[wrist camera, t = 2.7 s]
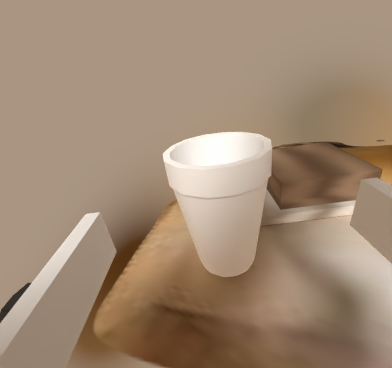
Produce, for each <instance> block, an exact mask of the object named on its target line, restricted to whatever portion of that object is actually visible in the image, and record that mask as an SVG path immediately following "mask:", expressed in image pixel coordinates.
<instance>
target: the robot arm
mask: <svg viewBox="0 0 392 368" xmlns="http://www.w3.org/2000/svg"><path fill="white" fill-rule="evenodd" d="M350 225H351V226H352V227H353V228H354V229H355V230H356V231H357V232H358V233H359V234H361V235H362V236H363V237H364V238H365V239H366V240H367V241H368V242H369V243H370V244H371V245H372V246H373V247H374V248H376V249H377V250H378V251H379V252H380V253H381V254H382V255H383V256H384V257H385V258H386V259H387V260H388V261H389V262H391V263H392V185H390V184H388V183H387V182H385V181H383V180H381V179H379V178H370V179H362V180H361V182H360V186H359V190H358V194H357V198H356V202H355V206H354V210H353V214H352V218H351V222H350ZM115 254H116V249H115V247H114V244H113V242H112V240H111V237H110V235H109V232H108V230H107V228H106V225H105V223H104V221H103V218H102V216H101V213H100V212H99V213H91V214H86V215H85V216H84V217H83V218H82V220H81V221H80V222H79V224H78V225H77V226H76V227H75V229H74V230H73V231H72V232H71V234H70V235H69V236H68V238H67V239H66V240H65V241H64V243H63V244H62V245H61V246H60V248H59V249H58V250H57V252H56V253H55V254H54V255H53V257H52V258H51V259H50V261H49V262H48V263H47V264H46V266H45V267H44V268H43V269H42V271H41V272H40V273H39V275H38V276H37V277H36V278H35V280H34V281H33V282H32V283H27V284H26V285H25V286H24V287H23V288H21V289H20V290H19V291H18V292H17V293H15V294H14V295H13V296H12V297H11V299H10V300H9V301H8V302H7V303H6V305H5V306H4V307H3V308H2V309H1V312H0V368H66V366H67V363H68V361H69V359H70V356H71V354H72V352H73V350H74V347H75V345H76V343H77V340H78V338H79V336H80V334H81V331H82V329H83V327H84V325H85V322H86V320H87V318H88V315H89V313H90V311H91V308H92V306H93V304H94V302H95V299H96V297H97V294H98V293H99V290H100V288H101V285H102V283H103V281H104V279H105V276H106V274H107V272H108V270H109V268H110V265H111V263H112V261H113V258H114V256H115Z"/></svg>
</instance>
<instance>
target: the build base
mask: <svg viewBox="0 0 392 368" xmlns="http://www.w3.org/2000/svg"><path fill="white" fill-rule="evenodd" d="M381 173H382V169H380V168H378V167H376V166H374V165H372V164H370V163H368V162H366V161H364V160H362V159H360V158H358V157H356V156H354V155H352V154H350V153H348V152H346V151H344V150H342V149H340V148H338V147H336V146H334V145H332V144H330V143H327V142H320V143H313V144H307V145H300V146H293V147H286V148H279V149H272V167H271V176H270V177H269V178H268V183H267V189H266V195H265V201H264V207H263V213H262V218H261V224H260V226H267V225H275V224H283V223H291V222H299V221H307V220H315V219H323V218H331V217H339V216H347V215H352V214H353V210H354V206H355V202H356V198H357V194H358V190H359V186H360V182H361V180H362V179H370V178H379V179H380V176H381Z"/></svg>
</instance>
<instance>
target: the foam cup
mask: <svg viewBox="0 0 392 368" xmlns="http://www.w3.org/2000/svg"><path fill="white" fill-rule="evenodd" d="M163 157H164V163H165V168H166V172H167V177H168V181H169V185H170V187H171V188H173V190H174V192H175V195H176V198H177V200H178V203H179V206H180V208H181V211H182V214H183V216H184V219H185V222H186V224H187V227H188V229H189V232H190V235H191V237H192V240H193V243H194V245H195V248H196V251H197V253H198V256H199V258H200V261H201V262H202V265H203V266H204V267H205V268H206V269H207V270H208V271H209V272H210V273H212V274H215V275H218V276H221V277H233V276H238V275H240V274H242V273H244V272H246V271H248V269H249V268H250V267H251V265H252V264H253V262H254V258H255V254H256V248H257V242H258V236H259V230H260V224H261V218H262V213H263V207H264V201H265V195H266V189H267V183H268V178H269V177H270V176H271V167H272V145H271V140H270V139H268V138H266V137H264V136H262V135H260V134H253V133H246V132H222V133H214V134H207V135H202V136H198V137H194V138H190V139H186V140H184V141H181V142H179V143H177V144H175V145H172V146H171V147H170V148H169V149H168V150H166V151H165V152H164V153H163Z"/></svg>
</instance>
